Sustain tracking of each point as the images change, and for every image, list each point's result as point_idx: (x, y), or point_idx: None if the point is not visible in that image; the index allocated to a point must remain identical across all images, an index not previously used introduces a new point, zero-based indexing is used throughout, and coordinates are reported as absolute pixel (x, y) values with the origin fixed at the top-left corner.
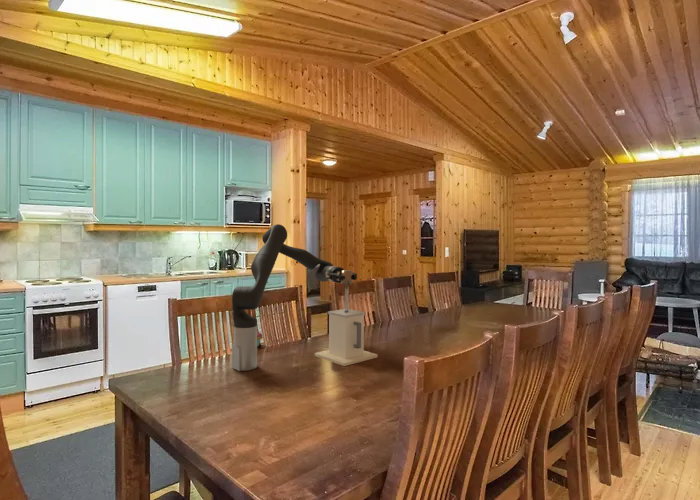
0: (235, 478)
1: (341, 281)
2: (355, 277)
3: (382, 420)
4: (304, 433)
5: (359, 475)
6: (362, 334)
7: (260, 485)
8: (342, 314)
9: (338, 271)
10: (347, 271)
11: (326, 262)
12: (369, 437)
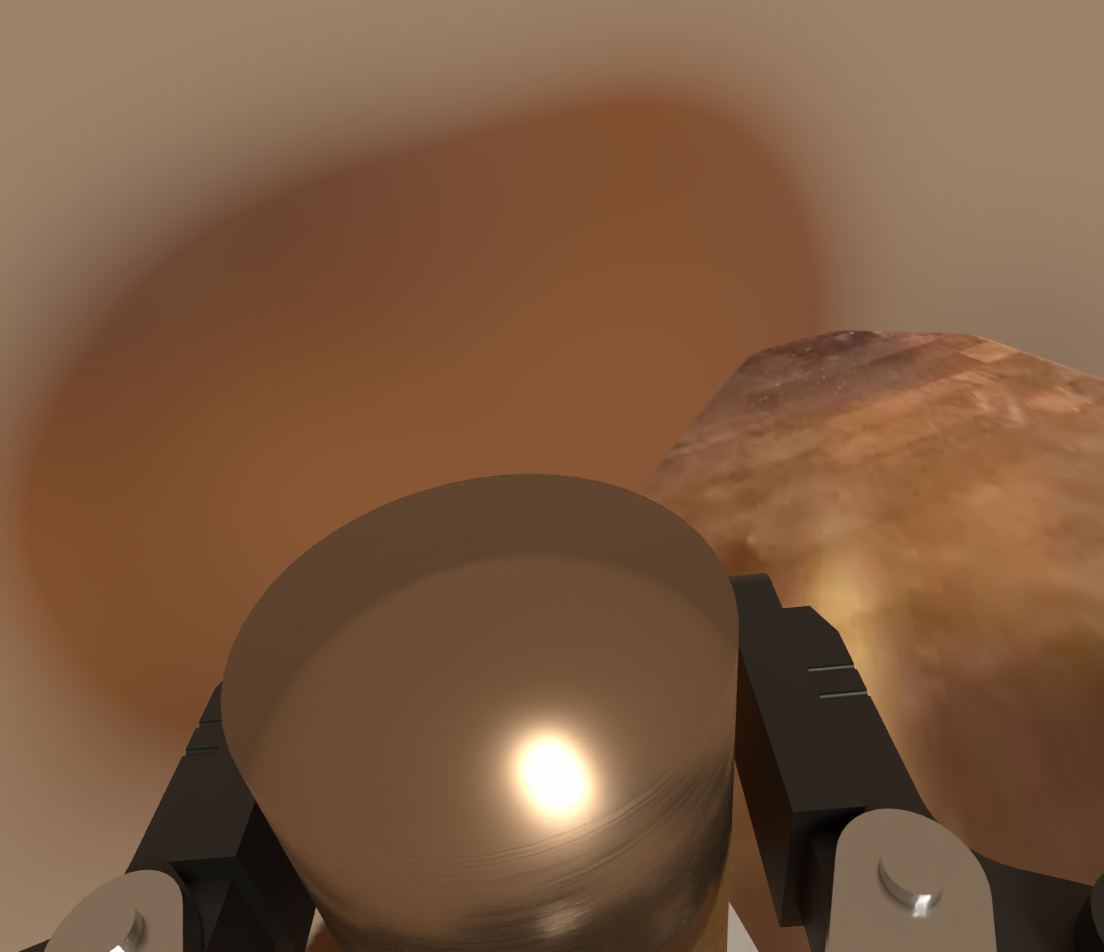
0: (1021, 352)
1: (728, 907)
2: None
3: (700, 448)
4: (912, 426)
5: (794, 348)
6: None
7: (965, 342)
8: (731, 937)
9: None
10: (548, 484)
11: None
12: (752, 407)
